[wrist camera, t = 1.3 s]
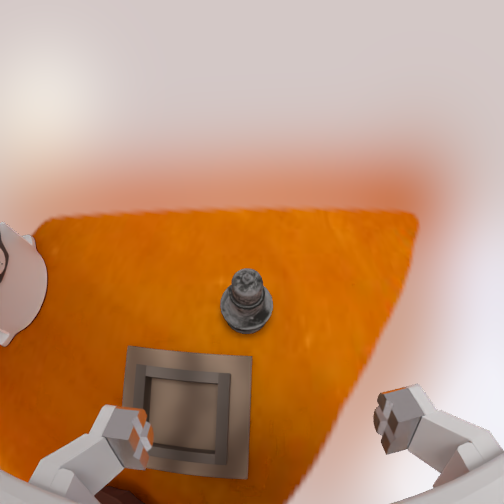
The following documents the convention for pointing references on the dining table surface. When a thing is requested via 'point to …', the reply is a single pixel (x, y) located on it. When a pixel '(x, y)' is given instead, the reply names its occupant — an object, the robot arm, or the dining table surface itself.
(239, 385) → the walnut board
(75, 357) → the dining table surface
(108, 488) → the muffin
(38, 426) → the dining table surface
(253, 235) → the dining table surface
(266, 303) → the grey chess piece
